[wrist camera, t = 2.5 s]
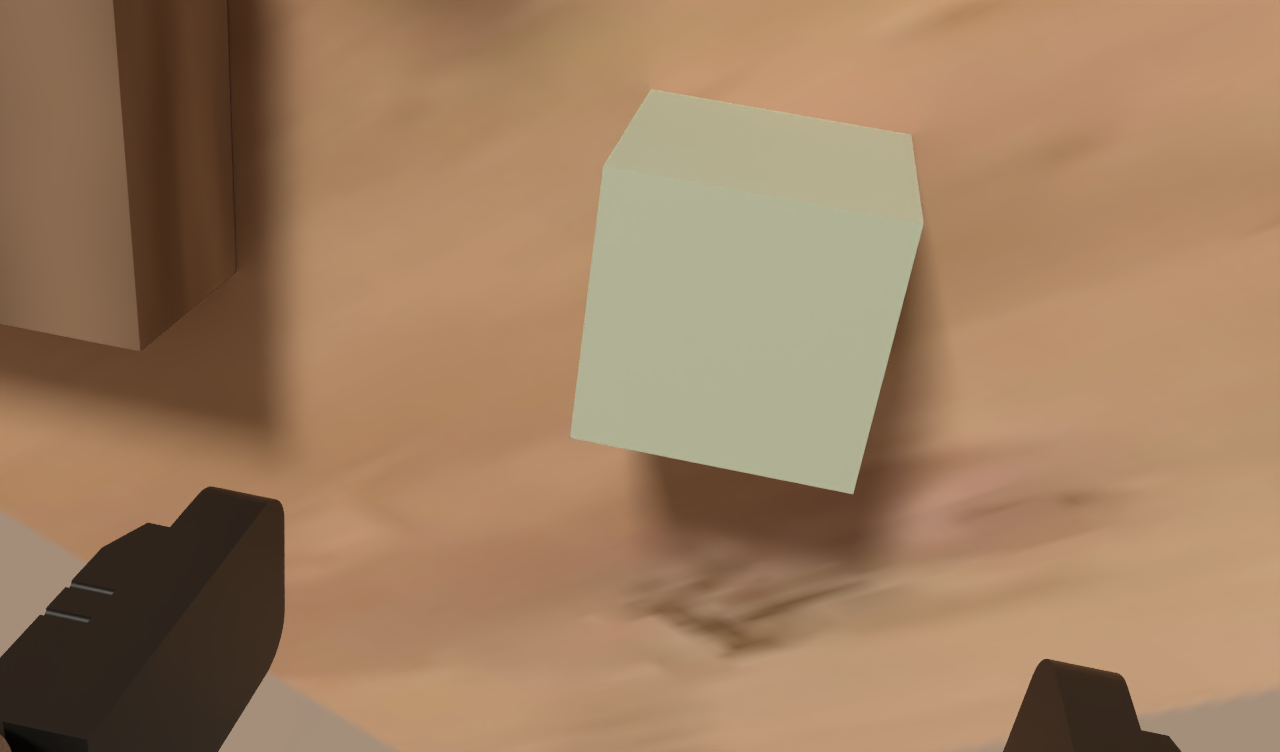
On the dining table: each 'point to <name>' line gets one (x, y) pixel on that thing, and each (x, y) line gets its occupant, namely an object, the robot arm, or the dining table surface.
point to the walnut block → (113, 165)
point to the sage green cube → (746, 288)
